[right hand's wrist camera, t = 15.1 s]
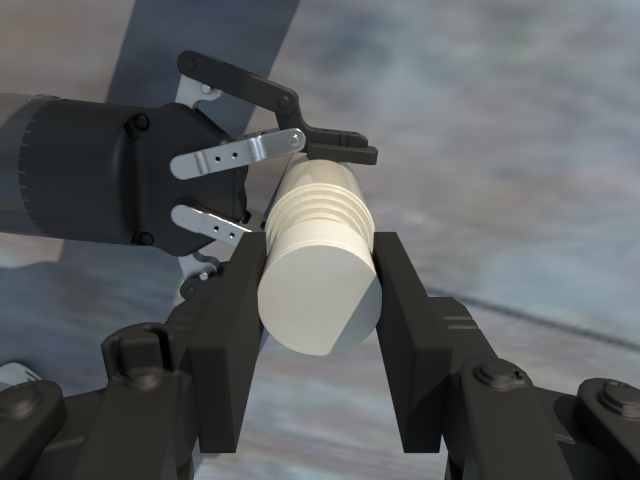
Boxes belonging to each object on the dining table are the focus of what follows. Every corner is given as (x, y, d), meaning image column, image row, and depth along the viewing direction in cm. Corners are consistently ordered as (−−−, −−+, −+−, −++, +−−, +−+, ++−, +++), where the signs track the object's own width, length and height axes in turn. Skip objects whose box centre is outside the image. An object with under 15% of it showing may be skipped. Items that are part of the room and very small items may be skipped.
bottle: (279, 148, 29) (224, 243, 12) (344, 132, 29) (380, 206, 12) (296, 210, 31) (268, 370, 14) (358, 195, 30) (407, 341, 13)
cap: (293, 330, 15) (289, 372, 13) (247, 243, 14) (233, 273, 12) (389, 294, 15) (401, 331, 13) (349, 201, 14) (355, 224, 11)
